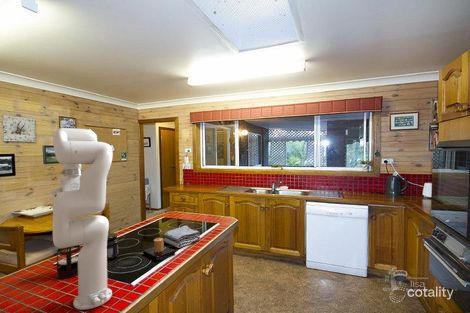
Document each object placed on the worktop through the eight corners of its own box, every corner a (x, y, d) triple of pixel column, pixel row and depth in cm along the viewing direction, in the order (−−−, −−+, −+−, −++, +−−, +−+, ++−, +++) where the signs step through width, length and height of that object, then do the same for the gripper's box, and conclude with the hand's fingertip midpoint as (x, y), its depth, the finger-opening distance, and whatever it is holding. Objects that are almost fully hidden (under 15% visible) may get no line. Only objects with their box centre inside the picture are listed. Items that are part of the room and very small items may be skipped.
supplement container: (116, 252, 135) (116, 231, 135) (119, 258, 127) (119, 236, 127) (95, 257, 130) (94, 235, 130) (97, 264, 121) (96, 240, 121)
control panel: (174, 255, 130) (174, 250, 130) (156, 262, 122) (156, 256, 122) (161, 248, 140) (161, 244, 140) (143, 254, 132) (143, 249, 132)
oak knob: (165, 250, 131) (165, 238, 131) (157, 252, 127) (156, 241, 127) (160, 247, 134) (160, 236, 134) (152, 250, 131) (152, 239, 131)
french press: (54, 281, 104) (53, 229, 104) (55, 273, 112) (54, 224, 112) (85, 274, 111) (84, 224, 111) (84, 266, 119) (84, 220, 119)
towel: (163, 243, 147) (162, 231, 147) (186, 235, 162) (186, 224, 162) (178, 249, 138) (178, 236, 138) (201, 240, 152) (201, 228, 152)
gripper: (53, 174, 113) (54, 210, 113) (93, 171, 126) (94, 204, 126) (49, 173, 118) (50, 208, 118) (89, 171, 131) (89, 202, 131)
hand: (73, 206), depth 122 cm, fingers open, 9 cm apart
